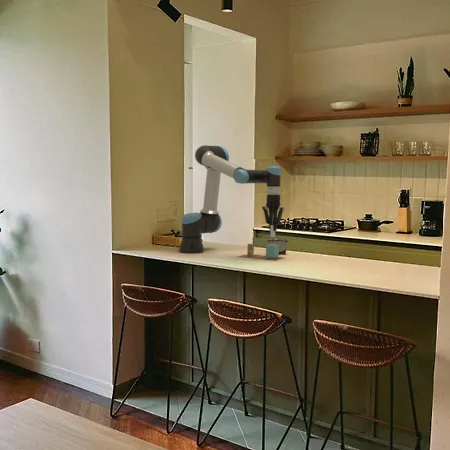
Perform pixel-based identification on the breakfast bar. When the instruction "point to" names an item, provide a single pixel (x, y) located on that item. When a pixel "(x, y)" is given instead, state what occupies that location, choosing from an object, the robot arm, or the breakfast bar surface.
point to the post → (250, 250)
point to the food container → (281, 242)
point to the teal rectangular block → (272, 250)
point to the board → (261, 257)
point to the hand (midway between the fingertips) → (272, 236)
